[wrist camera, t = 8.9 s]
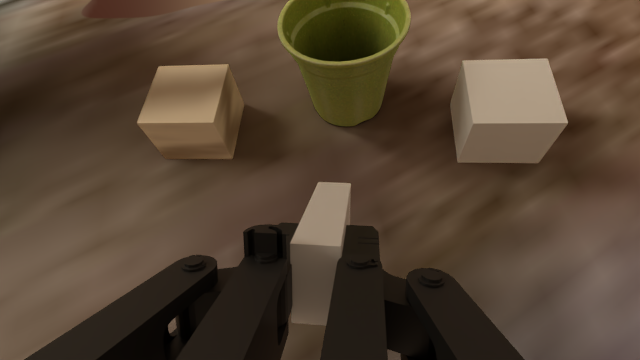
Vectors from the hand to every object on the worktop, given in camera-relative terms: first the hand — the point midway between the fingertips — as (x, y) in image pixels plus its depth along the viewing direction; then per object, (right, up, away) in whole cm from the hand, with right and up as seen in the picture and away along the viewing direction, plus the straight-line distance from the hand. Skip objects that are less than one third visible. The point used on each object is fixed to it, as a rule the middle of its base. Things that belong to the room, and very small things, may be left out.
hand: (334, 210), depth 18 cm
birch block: (-11, +6, +16) cm, 21 cm away
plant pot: (+2, +8, +17) cm, 19 cm away
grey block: (+13, +5, +13) cm, 20 cm away
